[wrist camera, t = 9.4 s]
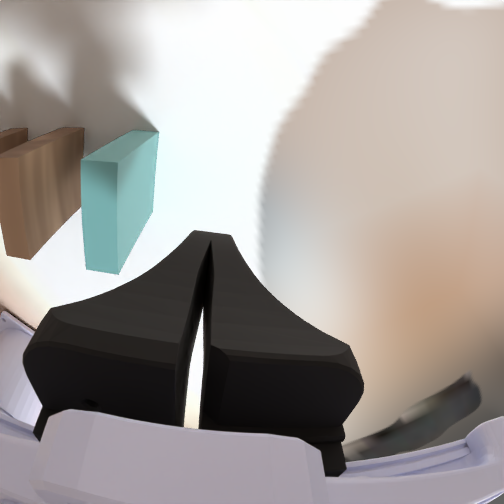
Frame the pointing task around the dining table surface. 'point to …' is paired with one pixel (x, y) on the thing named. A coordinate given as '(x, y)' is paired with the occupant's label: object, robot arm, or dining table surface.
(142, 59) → the dining table surface
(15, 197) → the domino
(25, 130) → the brown wooden block
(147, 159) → the domino
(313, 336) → the robot arm
